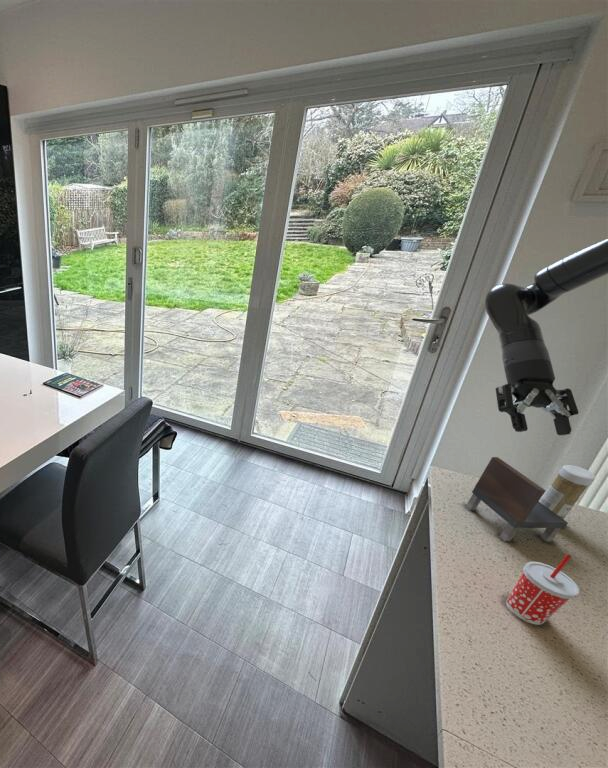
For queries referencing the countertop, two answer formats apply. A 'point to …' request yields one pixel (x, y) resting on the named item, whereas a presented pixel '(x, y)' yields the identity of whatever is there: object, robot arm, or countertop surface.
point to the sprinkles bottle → (566, 489)
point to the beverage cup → (541, 592)
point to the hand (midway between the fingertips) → (542, 432)
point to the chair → (514, 500)
